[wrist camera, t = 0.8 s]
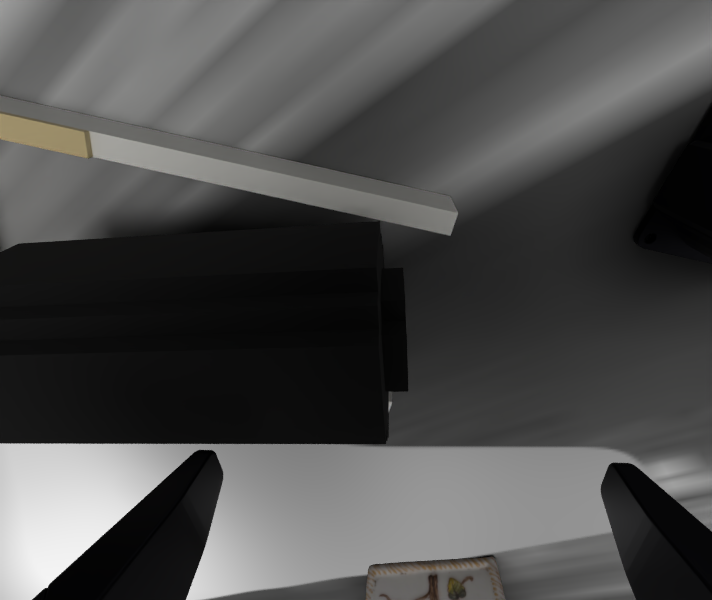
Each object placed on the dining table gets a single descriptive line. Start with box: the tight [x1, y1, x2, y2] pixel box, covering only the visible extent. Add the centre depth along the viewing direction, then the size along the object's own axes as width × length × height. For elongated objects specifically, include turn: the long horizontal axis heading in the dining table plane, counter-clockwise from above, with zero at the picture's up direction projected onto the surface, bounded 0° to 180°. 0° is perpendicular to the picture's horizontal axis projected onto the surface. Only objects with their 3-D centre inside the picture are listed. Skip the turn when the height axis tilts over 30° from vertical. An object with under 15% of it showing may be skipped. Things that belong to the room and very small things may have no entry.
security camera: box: [0, 221, 408, 444], centre depth 16 cm, size 7×18×10 cm, turn 95°
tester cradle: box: [0, 95, 458, 410], centre depth 18 cm, size 24×12×5 cm, turn 78°
